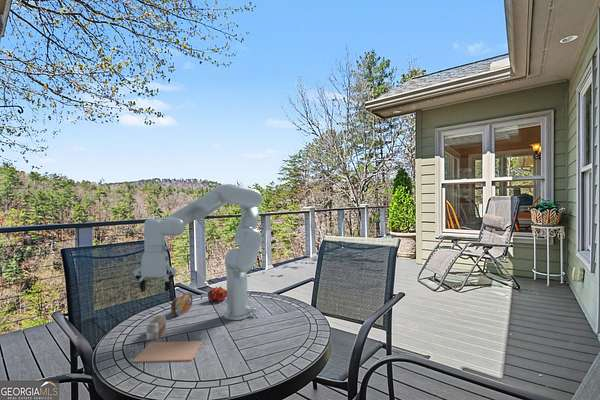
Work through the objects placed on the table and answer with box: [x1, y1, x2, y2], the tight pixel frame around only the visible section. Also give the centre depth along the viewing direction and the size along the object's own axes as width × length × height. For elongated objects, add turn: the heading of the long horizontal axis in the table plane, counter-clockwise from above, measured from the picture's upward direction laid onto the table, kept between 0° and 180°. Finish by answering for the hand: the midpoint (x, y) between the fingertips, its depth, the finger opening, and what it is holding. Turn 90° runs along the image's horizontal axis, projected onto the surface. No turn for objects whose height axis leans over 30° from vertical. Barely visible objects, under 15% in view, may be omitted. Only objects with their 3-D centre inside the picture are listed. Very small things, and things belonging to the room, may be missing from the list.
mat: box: [132, 340, 204, 363], centre depth 116 cm, size 20×14×1 cm
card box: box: [146, 315, 167, 341], centre depth 131 cm, size 4×9×6 cm, turn 2°
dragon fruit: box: [207, 286, 227, 303], centre depth 172 cm, size 8×8×12 cm
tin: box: [170, 292, 193, 317], centre depth 156 cm, size 15×3×8 cm, turn 168°
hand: (155, 290), depth 131 cm, fingers open, 9 cm apart
